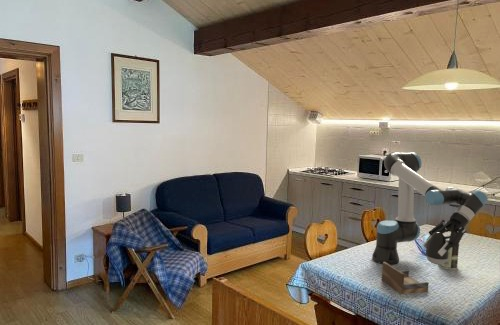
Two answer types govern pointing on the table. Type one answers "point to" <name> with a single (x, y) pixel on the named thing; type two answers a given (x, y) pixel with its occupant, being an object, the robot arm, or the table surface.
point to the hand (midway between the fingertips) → (432, 250)
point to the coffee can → (451, 258)
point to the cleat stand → (402, 280)
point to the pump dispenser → (437, 249)
